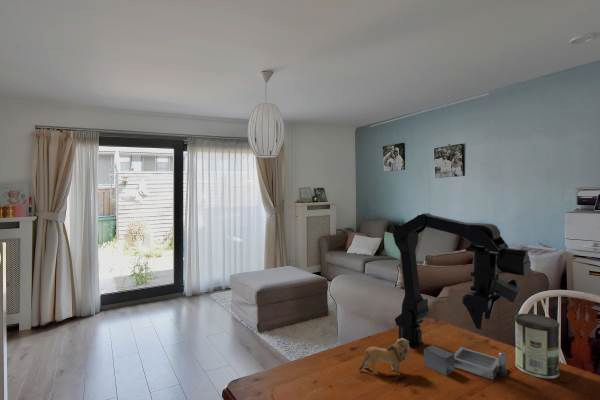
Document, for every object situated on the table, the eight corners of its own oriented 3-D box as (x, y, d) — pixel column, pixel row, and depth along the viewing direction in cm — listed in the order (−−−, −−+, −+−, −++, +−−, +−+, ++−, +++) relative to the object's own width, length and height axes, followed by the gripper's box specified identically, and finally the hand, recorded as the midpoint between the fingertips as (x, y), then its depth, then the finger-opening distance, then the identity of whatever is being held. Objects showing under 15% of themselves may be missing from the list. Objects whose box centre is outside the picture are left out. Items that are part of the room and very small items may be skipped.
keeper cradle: (450, 365, 97) (450, 345, 97) (460, 354, 103) (460, 335, 103) (502, 383, 88) (502, 360, 87) (510, 369, 94) (510, 348, 94)
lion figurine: (406, 365, 97) (406, 334, 97) (413, 375, 92) (413, 342, 92) (356, 367, 97) (356, 336, 97) (360, 377, 91) (360, 344, 91)
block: (423, 365, 97) (423, 348, 97) (432, 361, 100) (432, 345, 99) (446, 376, 91) (445, 358, 91) (454, 371, 94) (454, 354, 94)
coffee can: (547, 361, 98) (547, 314, 98) (567, 380, 88) (567, 328, 88) (508, 358, 101) (508, 312, 100) (524, 377, 90) (524, 325, 90)
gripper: (511, 281, 81) (509, 344, 82) (524, 267, 95) (523, 321, 95) (462, 273, 89) (461, 331, 89) (481, 261, 102) (480, 311, 103)
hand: (483, 323), depth 94 cm, fingers open, 9 cm apart
